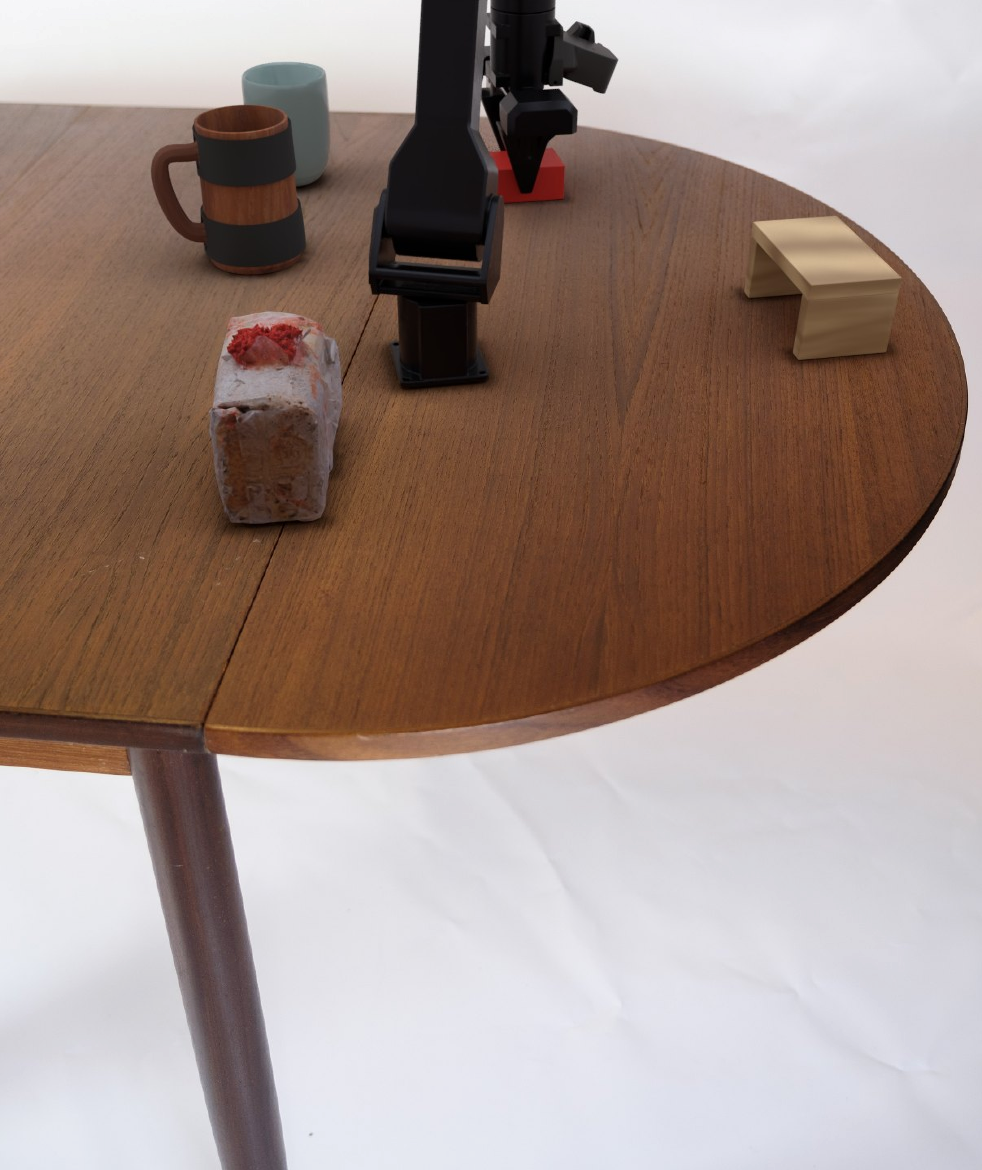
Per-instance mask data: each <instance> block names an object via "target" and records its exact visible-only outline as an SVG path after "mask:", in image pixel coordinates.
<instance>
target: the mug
mask: <svg viewBox="0 0 982 1170" xmlns="http://www.w3.org/2000/svg"><path fill="white" fill-rule="evenodd" d="M191 129H192V139H193V142H190V143H171V144H167V145H165V146H162V147H160V148H159V149H158V150H157V151H156V152H155V153H154V156H153V158H152V160H151V166H150V177H151V183H152V186H153V191H154V194H155V196H156V199H157V201H158V204H159V206H160V209H161V210H162V213H163V214H164V216H165V218H166V220H167V221H168V223H169V224H170V226H171V227H172V228H173V230H175V231H176V232H177V233H178V234H179V235H180V236H181V237H183V238H184V239H185V240H188V241H190V242H193V243H201V244H203V248H204V249H203V250H204V252H205V255H206V256H207V257H208V258H209V260H210V261H211V262H212V264H213V266H215V267H216V268H218V269H220V270H221V271H225V272H228V273H233V274H238V275H263V274H270V273H275V272H278V271H282V270H285V269H287V268H289V267H291V266H293V265H294V264H296V263H298V261H299V260H300V259H301V256H302V255H303V252H304V251H305V249H306V246H307V240H306V229H305V228H306V227H305V221H304V215H303V208H302V203H301V200H300V199H299V197H298V194H297V187H296V184H295V175H294V172H295V171H296V159H295V152H294V144H293V136H292V126H291V120H290V119H289V117H287V115H286V113H285V112H283V111H282V110H280V109H277V108H273V107H269V106H262V105H244V104H235V105H234V104H233V105H225V106H220V107H215V108H212V109H209V110H206V111H203V112H201V113H199V114H198V115H197V116H196V117H194V119H193V123H192V127H191ZM192 162H195V165H196V174H197V176H198V177H199V183H200V192H201V203H202V204H201V206H200V210H199V211H200V222H195V221H192V220H191V218H189V216H188V215H187V213H186V212H185V211H184V208H183V207H182V205H181V203H180V201H179V199H178V197H177V194H176V192H175V190H174V187H173V183H172V179H171V175H170V170H169V169H170V167H169V166H170V164H172V163H173V164H174V163H192Z"/></svg>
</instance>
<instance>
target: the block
mask: <svg viewBox="0 0 982 1170" xmlns="http://www.w3.org/2000/svg"><path fill="white" fill-rule="evenodd" d="M489 153H490V155H491V157H493V159H494V161H495V163H496V166H497V169H498V195H501V196H503V199H504V204H510V203H524V202H539V201H555V200H563V199H564V198H565V180H566V179H565V177H566V176H565V175H566V166H565V163H564V162H563V160H562V159H561V158H560V156H559V155H558V153H557V152H556V150H555V149H554V148H553V147H546V150H545V152H544V155H543V159H542V162H541V165H540V168H539V172H538V175H537V178H536V181H535V185H534V188H533V191H532V193H529V194H521V193H520V191H519V188H518V185H517V182H516V179H515V176H514V173H513V170H512V167H511V165H510V162H509V159H508V156H507V153H506V151H500V150H496V151H489Z"/></svg>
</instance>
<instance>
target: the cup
mask: <svg viewBox="0 0 982 1170" xmlns="http://www.w3.org/2000/svg"><path fill="white" fill-rule="evenodd" d="M241 93H242V103H243V104H242V105H262V106H269V107H273V108H277V109H280V110H282V111H283V112H285V113H286V115H287V117H289V119H290V120H291V126H292V136H293V144H294V152H295V159H296V171H295V172H294V175H295V184H296V188H297V187H304V186H308V185H311V184H312V183H315V182H316V181H317V180H318V179H320V178H321V177H322V176H323V174H324V173H325V171H326V169H327V166H328V164H329V163H328V162H329V159H330V150H331V118H330V117H331V116H330V102H329V101H330V99H329V87H328V79H327V73H326V71H325V69H324V68H323V67H322V66H320V65H316V64H313V63H307V62H301V61H299V62H298V61H274V62H265V63H261V64H257V65H254V66H251V67H249V68H247V69H245V71H243V73H242V75H241Z"/></svg>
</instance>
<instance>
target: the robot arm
mask: <svg viewBox="0 0 982 1170" xmlns="http://www.w3.org/2000/svg"><path fill="white" fill-rule="evenodd" d="M556 3H557V2H556V0H490V1H489V5H490V7H489V12H488V0H420V16H419V18H420V19H419V33H418V34H419V35H418V56H417V71H416V72H417V73H416V92H415V93H416V94H415V108H414V109H415V111H414V122H413V125H412V127H411V128H410V130H409V131H408V133H407V134H406V136H405V138H404V139H403V140H402V142H401V143H400V145H399V146H398V149H397V150H396V151H395V153H394V155H393V156H392V158H391V159H390V160H389V163H388V172H387V180H386V181H387V182H386V186H384V187H383V188H382V190H381V193H380V197H379V200H378V204H376V206H375V207H374V208H373V214H372V223H371V233H370V241H369V251H368V273H367V276H368V281H367V282H368V285H369V286H370V291H371V295H372V296H373V295H374V296H380V295H386V296H396V302H397V303H396V306H397V326H398V327H397V329H398V340H393V341H391V342H390V343H389V350H390V354H391V358H392V361H393V365H394V369H395V373H396V376H397V380H398V383H399V386H400V387H401V388H405V389H407V388H408V389H409V388H418V387H430V386H440V385H452V384H463V383H474V382H476V383H477V382H484V381H487V380H489V379H490V372H489V371H490V370H489V369H488V366H487V364H486V361H485V358H484V356H483V354H482V351H481V349H480V346H479V344H478V303H480V304H481V305H489V304H490V302H491V300H492V299H493V295H494V293H495V291H496V289H497V286H498V284H499V281H500V279H501V272H502V271H501V269H502V256H503V241H504V228H505V227H504V225H505V223H504V222H505V203H504V199H503V196H501V195H498V169H497V166H496V163H495V161H494V159H493V157H491V155H490V153H489V152H490V151H489V149H488V147H487V145H486V143H485V141H484V139H483V137H482V135H481V132H480V118H481V106H482V107H483V110H484V112H485V115H486V118H487V120H488V123H489V125H490V128H491V130H492V133H493V136H494V138H495V141H496V144H497V146H498V148H499V151H506V153H507V156H508V159H509V162H510V165H511V167H512V170H513V173H514V176H515V179H516V182H517V185H518V188H519V191H520V193H521V194H529V193H532V191H533V188H534V185H535V181H536V178H537V175H538V172H539V168H540V165H541V162H542V159H543V155H544V152H545V150H546V148H548V144H549V142H550V141H551V140H552V139H554V138H555V137H556V136H568V135H569V136H570V135H574V134H576V133H577V132H578V118H579V117H578V115H579V110H578V109H577V107H576V106H575V104H574V103H573V102H572V100H571V99H570V98H569V97H568V96H567V95H566V94H565V93H564V92H563V91H562V90H561V89H560V88H545V86H548V87H563V86H564V79H565V80H567V81H570V82H573V83H576V84H579V85H582V86H584V87H587V88H591V90H592V91H593V92H595V93H598V94H600V95H601V94H602V95H605V94H606V92H607V91H608V87H609V85H610V82H611V80H612V78H613V75H614V72H615V69H616V67H617V64H618V62H619V58H618V57H617V56H616V55H615V53H613V52H612V51H611V50H610V49H609V47H608V48H607V47H606V46H604V45H603V44H602V43H600V42H597V43H596V34H595V30H594V28H592V26H590V25H589V24H586V23H583V22H580V21H578V20H576V21H575V22H573V23H572V25H571V26H570V27H569V28H567V30H564V26H563V25H562V24H561V23H560V22H559V20H558V19H557V18H556V6H557V5H556ZM486 27H487V28H486ZM486 29H488V30H489V31H490V32H489V45H486V44H485V43H486ZM484 77H485V79H486V80H485V87H483V81H484ZM396 255H397V256H399V257H411V258H422V259H423V258H424V259H434V260H445V261H447V260H448V261H459V262H472V263H481V267H473V266H472V267H471V266H461V265H460V266H459V265H445V264H435V263H434V264H433V263H422V262H412V261H399V260H398V261H397V260H396Z"/></svg>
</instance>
